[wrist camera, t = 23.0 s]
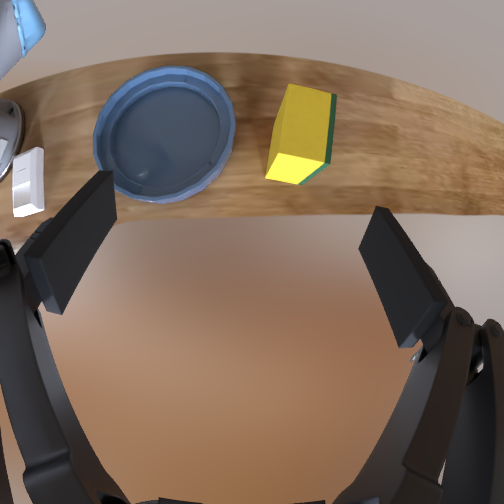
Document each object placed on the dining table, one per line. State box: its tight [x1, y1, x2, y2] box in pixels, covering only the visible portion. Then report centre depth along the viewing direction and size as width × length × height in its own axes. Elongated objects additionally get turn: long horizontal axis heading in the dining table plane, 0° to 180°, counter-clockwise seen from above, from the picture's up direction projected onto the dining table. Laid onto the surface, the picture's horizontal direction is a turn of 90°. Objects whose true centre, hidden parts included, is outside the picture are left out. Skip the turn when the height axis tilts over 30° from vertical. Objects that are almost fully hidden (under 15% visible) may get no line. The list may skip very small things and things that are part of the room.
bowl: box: [93, 66, 236, 204], centre depth 31 cm, size 17×17×4 cm
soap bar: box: [13, 147, 45, 217], centre depth 31 cm, size 5×9×3 cm, turn 8°
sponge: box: [265, 83, 337, 185], centre depth 28 cm, size 4×7×11 cm, turn 170°
